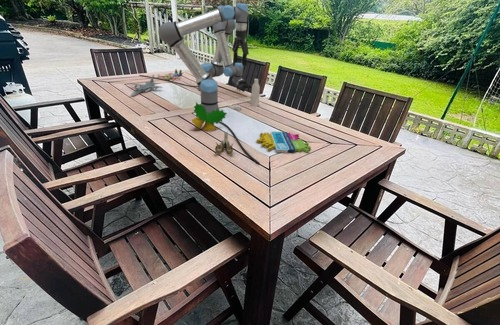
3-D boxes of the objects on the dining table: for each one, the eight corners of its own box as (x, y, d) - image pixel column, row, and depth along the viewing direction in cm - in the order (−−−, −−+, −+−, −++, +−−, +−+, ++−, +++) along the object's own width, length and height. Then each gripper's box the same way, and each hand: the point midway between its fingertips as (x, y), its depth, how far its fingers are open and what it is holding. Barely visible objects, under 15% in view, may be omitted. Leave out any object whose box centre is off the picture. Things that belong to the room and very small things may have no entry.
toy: (190, 70, 289) (177, 74, 263) (190, 77, 293) (178, 82, 267) (167, 67, 294) (152, 71, 268) (168, 74, 298) (153, 79, 272)
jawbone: (234, 135, 144) (233, 125, 135) (233, 160, 138) (232, 151, 129) (217, 135, 144) (216, 125, 135) (216, 160, 138) (214, 150, 129)
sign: (313, 150, 142) (258, 149, 139) (312, 153, 143) (258, 152, 140) (301, 132, 164) (254, 130, 161) (301, 134, 165) (254, 133, 162)
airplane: (124, 86, 239) (122, 75, 233) (160, 84, 252) (158, 73, 247) (129, 98, 210) (126, 86, 205) (168, 95, 223) (167, 83, 218)
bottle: (249, 104, 216) (250, 78, 206) (256, 103, 219) (258, 78, 208) (252, 106, 211) (254, 80, 201) (259, 105, 214) (262, 80, 203)
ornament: (218, 133, 171) (224, 110, 169) (221, 134, 163) (227, 111, 161) (186, 125, 162) (192, 101, 160) (189, 126, 155) (195, 101, 153)
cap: (240, 110, 200) (240, 107, 199) (234, 109, 201) (234, 106, 199) (240, 108, 204) (241, 105, 203) (235, 108, 204) (235, 105, 203)
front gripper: (255, 31, 168) (252, 66, 178) (237, 29, 187) (236, 60, 197) (244, 31, 165) (243, 66, 175) (228, 28, 183) (227, 60, 194)
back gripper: (254, 87, 240) (264, 94, 223) (228, 88, 230) (237, 95, 214) (254, 79, 236) (265, 85, 220) (229, 79, 226) (238, 86, 210)
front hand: (239, 63), depth 186 cm, fingers open, 13 cm apart
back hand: (251, 90), depth 217 cm, fingers open, 13 cm apart
